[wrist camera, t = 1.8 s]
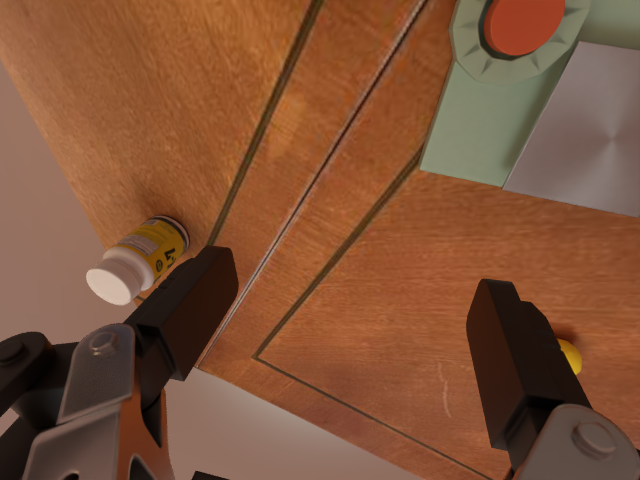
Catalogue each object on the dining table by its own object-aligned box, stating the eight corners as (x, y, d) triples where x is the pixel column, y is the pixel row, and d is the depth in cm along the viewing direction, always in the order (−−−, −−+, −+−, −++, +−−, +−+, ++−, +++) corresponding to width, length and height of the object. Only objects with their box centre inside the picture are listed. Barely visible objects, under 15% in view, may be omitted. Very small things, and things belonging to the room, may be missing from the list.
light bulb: (577, 331, 28) (601, 372, 26) (535, 352, 33) (552, 389, 31) (543, 331, 28) (564, 373, 26) (505, 353, 32) (520, 390, 30)
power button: (473, 48, 17) (479, 50, 15) (499, -25, 15) (508, -30, 14) (532, 58, 16) (543, 60, 15) (565, -16, 14) (581, -20, 13)
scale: (405, 160, 23) (405, 175, 21) (471, -58, 16) (483, -73, 14) (618, 204, 22) (646, 226, 19) (790, -16, 15) (867, -25, 12)
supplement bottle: (184, 260, 34) (130, 317, 27) (144, 237, 34) (79, 290, 27) (195, 230, 31) (138, 285, 25) (152, 205, 31) (82, 255, 24)
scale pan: (500, 188, 20) (502, 189, 20) (576, 40, 15) (579, 40, 15) (634, 215, 19) (637, 218, 19) (757, 69, 14) (763, 69, 14)
